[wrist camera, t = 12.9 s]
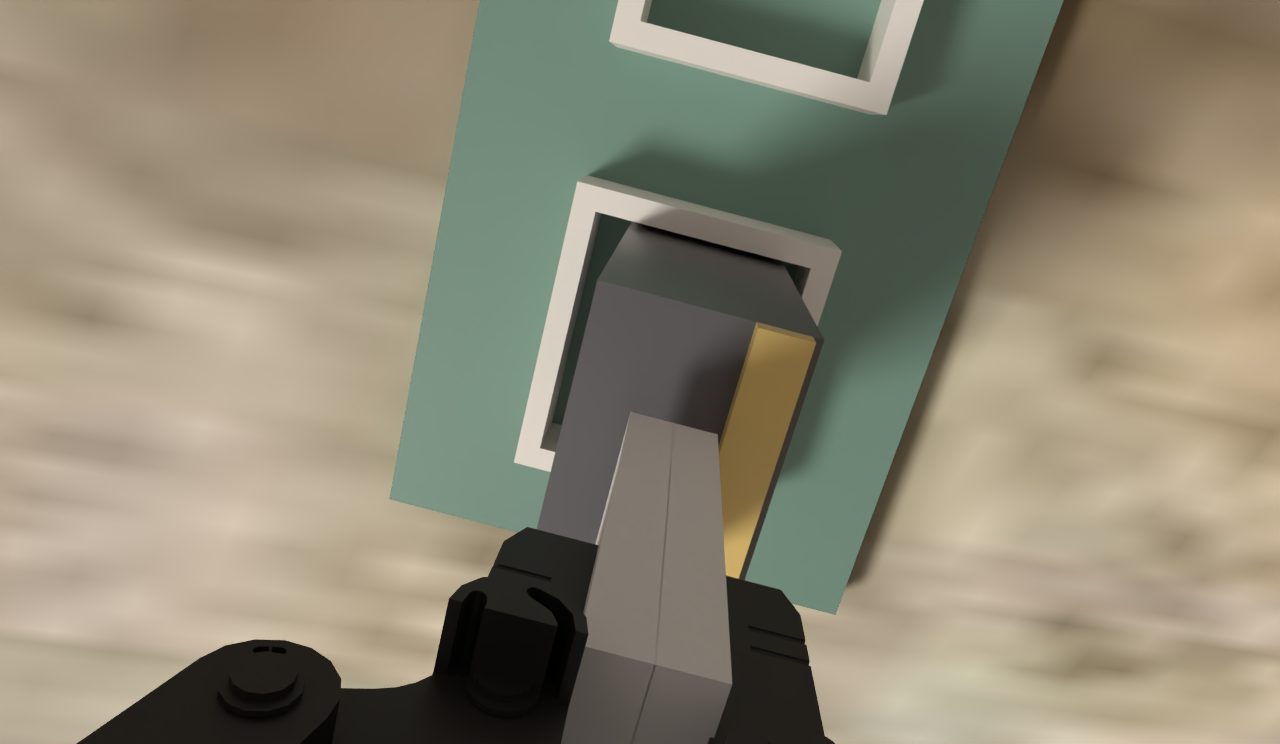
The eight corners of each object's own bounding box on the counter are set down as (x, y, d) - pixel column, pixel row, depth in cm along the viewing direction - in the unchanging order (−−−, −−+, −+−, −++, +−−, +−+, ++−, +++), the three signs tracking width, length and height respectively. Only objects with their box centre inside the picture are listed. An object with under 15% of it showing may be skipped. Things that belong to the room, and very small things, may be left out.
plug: (635, 217, 23) (594, 284, 14) (778, 254, 23) (827, 346, 14) (592, 387, 25) (531, 545, 16) (727, 422, 25) (743, 600, 16)
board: (570, -425, 20) (547, -520, 17) (1145, -269, 20) (1224, -335, 17) (402, 482, 27) (365, 529, 24) (829, 593, 28) (846, 654, 25)
